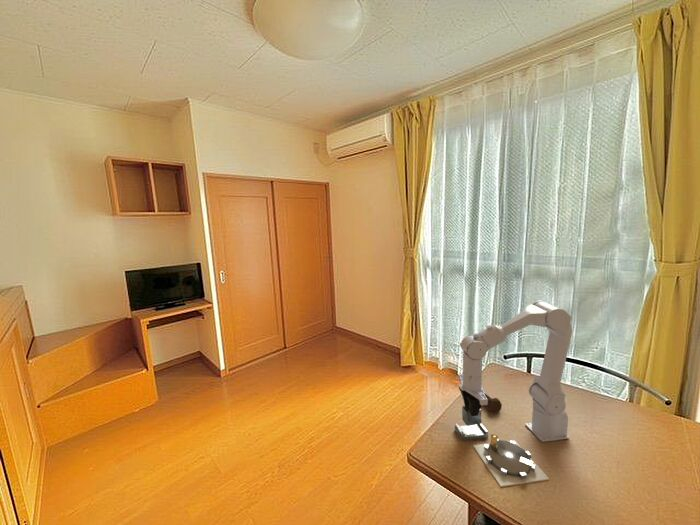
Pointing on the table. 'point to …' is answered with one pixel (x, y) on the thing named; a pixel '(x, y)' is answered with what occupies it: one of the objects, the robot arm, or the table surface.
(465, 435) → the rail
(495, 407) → the dark brown lumpy bar
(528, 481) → the board
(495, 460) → the sprocket
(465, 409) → the banded grey block
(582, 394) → the table surface
